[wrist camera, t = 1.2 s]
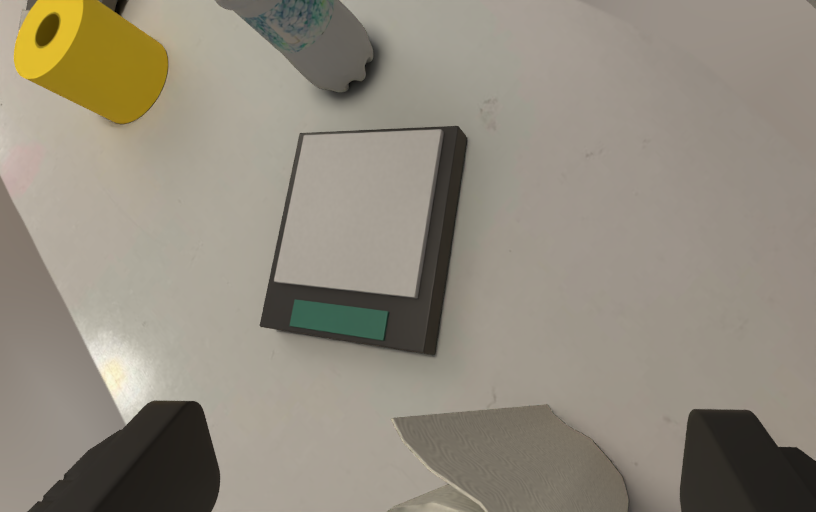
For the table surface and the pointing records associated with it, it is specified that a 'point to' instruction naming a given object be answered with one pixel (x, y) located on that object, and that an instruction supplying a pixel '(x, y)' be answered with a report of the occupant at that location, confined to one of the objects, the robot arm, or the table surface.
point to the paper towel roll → (510, 463)
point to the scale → (367, 236)
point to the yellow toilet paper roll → (91, 58)
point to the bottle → (311, 37)
